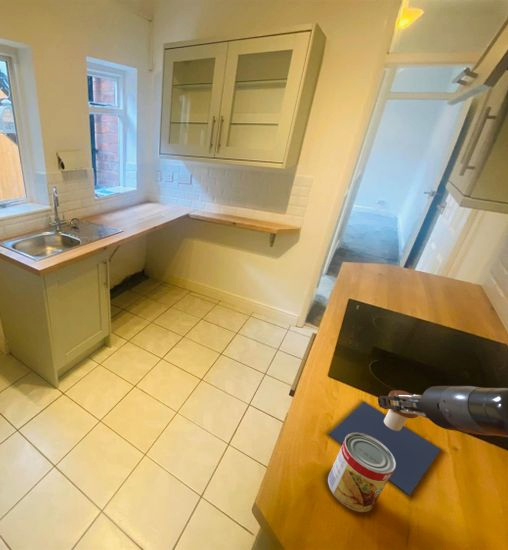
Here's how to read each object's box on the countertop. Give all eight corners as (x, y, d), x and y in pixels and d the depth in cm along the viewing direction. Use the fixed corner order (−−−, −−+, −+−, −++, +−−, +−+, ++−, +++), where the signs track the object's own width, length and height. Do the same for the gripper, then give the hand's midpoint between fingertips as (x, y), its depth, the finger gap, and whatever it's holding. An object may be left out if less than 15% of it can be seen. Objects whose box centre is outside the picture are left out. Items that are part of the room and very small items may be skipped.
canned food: (380, 518, 57) (404, 478, 52) (333, 504, 59) (352, 465, 53) (364, 476, 64) (385, 438, 58) (323, 466, 65) (339, 428, 60)
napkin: (363, 402, 81) (364, 401, 81) (440, 450, 69) (440, 449, 69) (328, 434, 72) (328, 433, 72) (409, 495, 60) (409, 495, 60)
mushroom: (383, 410, 72) (396, 384, 68) (412, 428, 68) (428, 400, 64) (372, 421, 69) (386, 394, 65) (402, 440, 65) (418, 412, 61)
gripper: (504, 389, 53) (425, 388, 69) (416, 382, 54) (358, 383, 70) (518, 437, 50) (433, 425, 66) (425, 428, 51) (363, 418, 67)
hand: (394, 403), depth 68 cm, fingers closed on mushroom, 5 cm apart
